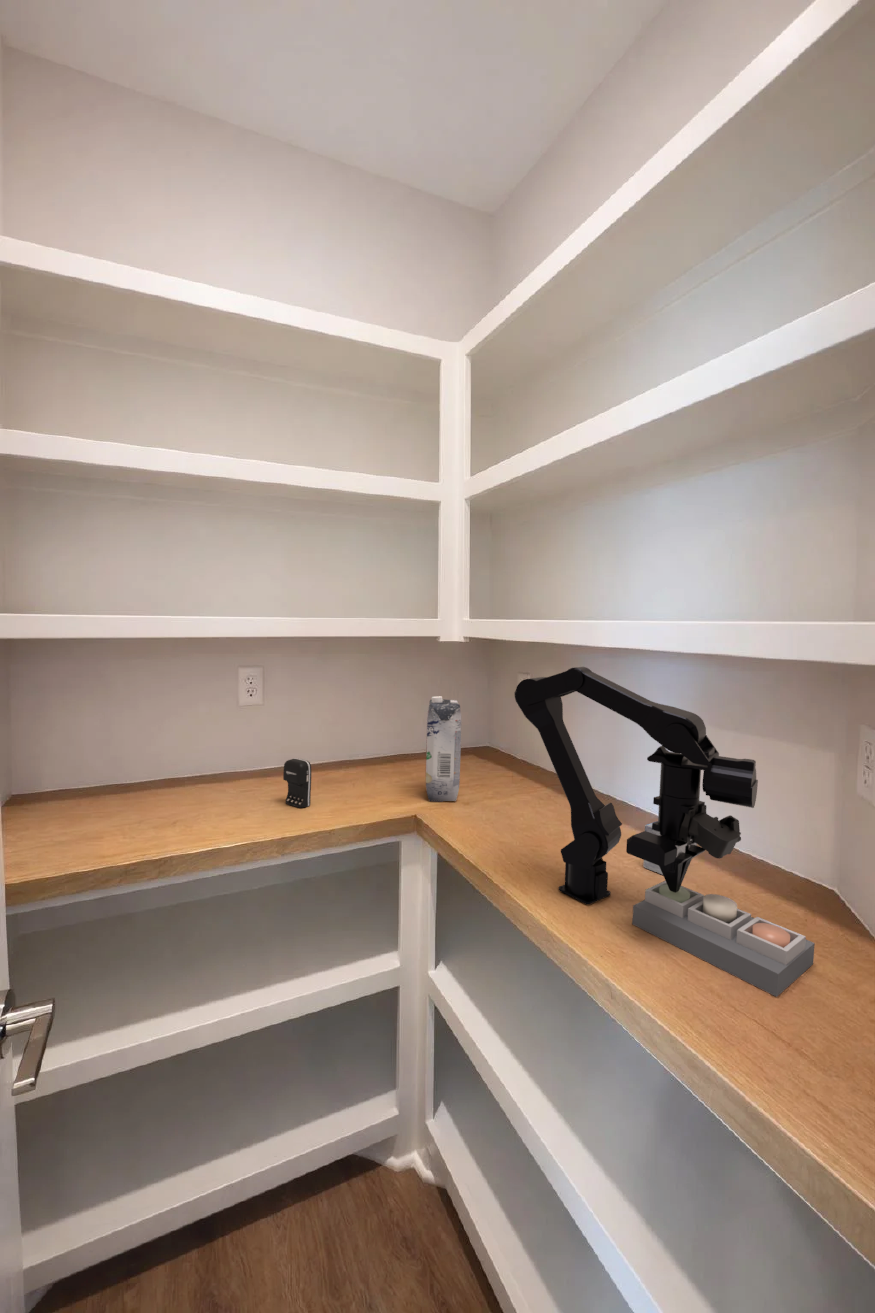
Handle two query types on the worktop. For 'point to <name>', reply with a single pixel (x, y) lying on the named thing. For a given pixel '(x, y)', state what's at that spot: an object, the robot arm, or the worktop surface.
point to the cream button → (720, 907)
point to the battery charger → (298, 782)
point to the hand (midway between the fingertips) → (674, 891)
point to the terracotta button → (771, 934)
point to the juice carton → (443, 749)
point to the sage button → (675, 894)
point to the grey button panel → (724, 940)
